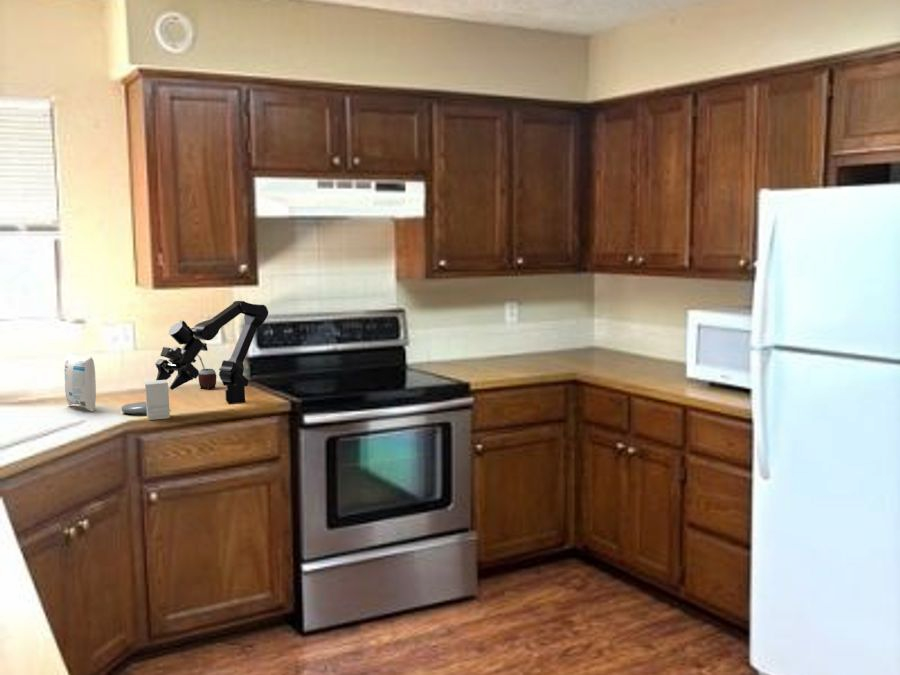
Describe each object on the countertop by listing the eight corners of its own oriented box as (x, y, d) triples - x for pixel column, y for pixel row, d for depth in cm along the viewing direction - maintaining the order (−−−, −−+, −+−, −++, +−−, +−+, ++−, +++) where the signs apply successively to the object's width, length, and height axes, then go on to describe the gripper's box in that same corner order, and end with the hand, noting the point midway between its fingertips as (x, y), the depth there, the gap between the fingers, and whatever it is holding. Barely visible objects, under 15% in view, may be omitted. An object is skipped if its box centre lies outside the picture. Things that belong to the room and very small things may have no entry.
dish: (164, 406, 330) (164, 400, 329) (167, 413, 316) (167, 407, 315) (121, 409, 324) (121, 403, 324) (122, 417, 310) (122, 411, 310)
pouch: (81, 413, 318) (77, 358, 315) (60, 406, 331) (57, 353, 329) (103, 410, 323) (99, 355, 321) (82, 403, 337) (79, 351, 334)
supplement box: (168, 414, 314) (166, 379, 313) (170, 418, 307) (168, 382, 306) (146, 416, 312) (144, 380, 310) (147, 420, 305) (145, 384, 303)
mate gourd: (217, 389, 363) (216, 353, 361) (198, 391, 360) (196, 354, 358) (215, 386, 370) (213, 350, 368) (195, 388, 367) (194, 352, 365)
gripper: (158, 336, 318) (132, 371, 311) (190, 340, 307) (163, 376, 299) (178, 356, 325) (153, 390, 318) (210, 360, 314) (184, 395, 306)
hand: (163, 387), depth 310 cm, fingers open, 9 cm apart
